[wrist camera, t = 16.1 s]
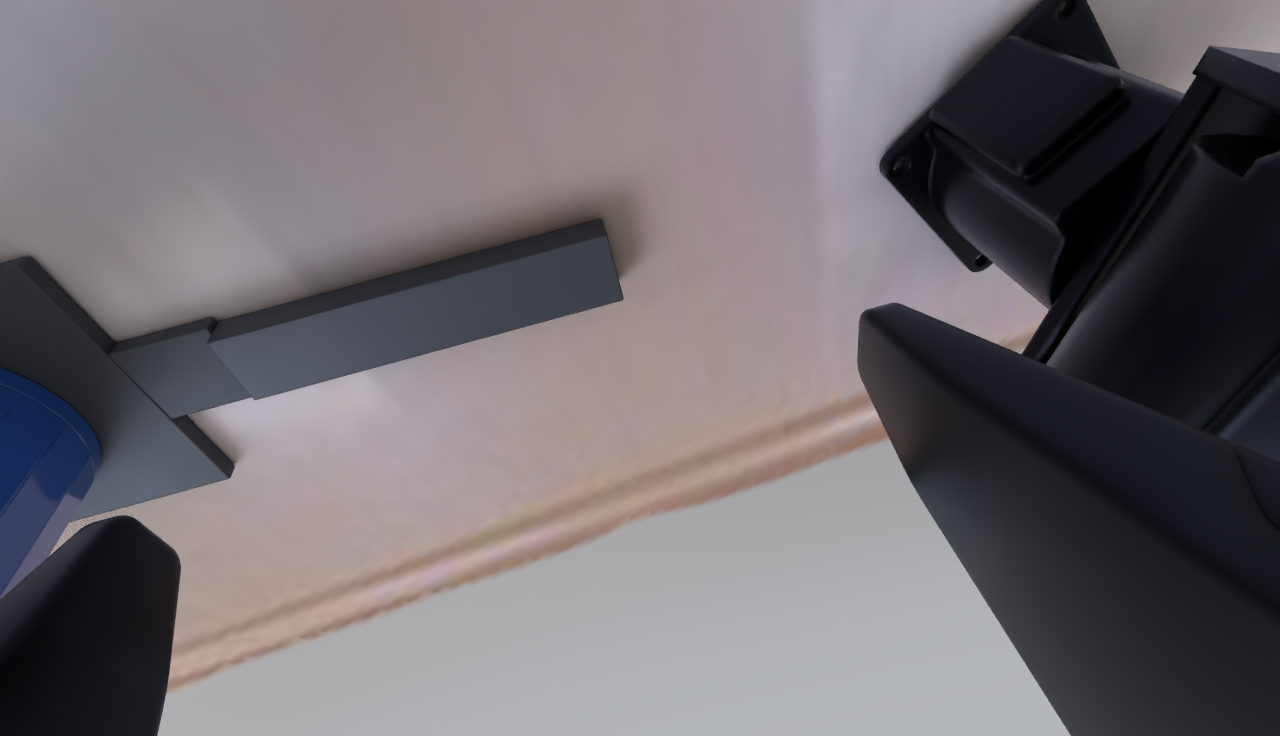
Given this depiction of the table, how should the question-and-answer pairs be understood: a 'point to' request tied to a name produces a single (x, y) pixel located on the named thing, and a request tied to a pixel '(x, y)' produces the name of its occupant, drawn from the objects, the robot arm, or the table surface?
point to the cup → (38, 473)
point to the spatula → (274, 348)
